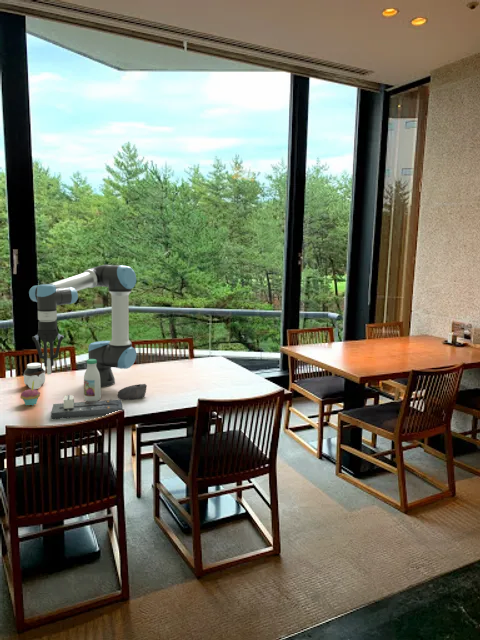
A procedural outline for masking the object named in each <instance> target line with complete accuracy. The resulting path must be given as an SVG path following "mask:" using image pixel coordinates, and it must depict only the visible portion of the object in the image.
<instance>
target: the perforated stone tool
mask: <svg viewBox="0 0 480 640" xmlns="http://www.w3.org/2000/svg"><path fill="white" fill-rule="evenodd" d="M146 392H147V384H146V383H142V384H141V383H140V384H139V383H137V384H133V385H129V386H125V387H123V388H121V389H120V390H118V392H117V398H118V399H119V400H120V399H121V401H123V400H125V401H127V400H131V401H132V400H139V399H143V398H145V397H146Z"/></svg>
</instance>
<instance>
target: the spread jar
mask: <svg viewBox="0 0 480 640" xmlns="http://www.w3.org/2000/svg"><path fill="white" fill-rule="evenodd" d="M33 381H34V388H33V389H34V390H37V389H39V388H41V387H42V386H43V385H44V383H45V382H46V371H45V369H44V368H43V367H42V364H41V363H40V362H31V363H28V364H26V369H25V370H24V372H23V383H24V385H25V386H26V387H28V388H29V389H32V383H33Z"/></svg>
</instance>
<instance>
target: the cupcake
mask: <svg viewBox="0 0 480 640" xmlns="http://www.w3.org/2000/svg"><path fill="white" fill-rule="evenodd" d="M33 388H34V381H33V383H32V389H31V388H29V389H26V390H23V391H22V392H21V393H20V399H21V400H22V401H23V402H24V404H25V406H27V405H32V406H35V405H36V404H37V402H38V399H39V398H40V397H41V392H40V391H39V390H37V389H33ZM34 404H35V405H34Z"/></svg>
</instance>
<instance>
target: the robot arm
mask: <svg viewBox="0 0 480 640" xmlns="http://www.w3.org/2000/svg"><path fill="white" fill-rule="evenodd" d="M136 284H137V275H136V272H135V271H134V269H133V268H132V267H131V266H127V265H122V264H116V265H115V264H102V265H98V266H94V267H91V268H88V269H85V270H84V271H83V272H82V273H79V274H75V275H73V276H70V277H66V278H62V279H60V280H57V281H54V282H51V283H47V284H39V285H33V286H32V287H31V288H30V289H29V291H28V294H29V298H30V300H31V301H32V302H36V303H37V320H38V322H37V324H38V331H37V334H35V335H34V336H32V337H31V340H32V341H33V342H34V344H35V347H36V351H37V355H38V357H39V359H43V367H45V368H46V375H51V374H52V367H54V365H55V359H57V358H58V356H59V353H60V350H61V349H60V348H61V344H62V341H63V339H64V338H65V337H64V335H63V334H60V333H59V331H58V321H57V319H58V317H57V316H58V314H57V313H58V311H57V307H58V306H64V305H72V304H75V303H76V302H77V300H78V299H79V294H78V291H82V290H84V289H87V288H91V289H92V288H96V287H102V288H103V287H105V288H108V292H109V294H110V295H111V340H100V341H94V342H91V343H89V345H88V350H87V354H88V355H87V356H88V359H96V360H97V364H96V367H97V369H98V371H99V374H100V385H101V388H105V387H109V386H113V385H115V383H116V379H115V376H114V374H113V370H112V368H117V369H121V370H122V369H124V370H126V369H127V370H128V369H130V368H132V366H133V365H134V363H135V362H136V359H137V351H136V349H135V348H134V347H133V346H132V344H133V343H132V342H131V340H130V339H129V336H130V335H129V331H130V330H129V328H130V327H129V322H130V321H129V318H130V317H129V313H130V312H129V309H130V307H129V306H130V305H129V303H130V302H129V295H130V294H131V293H132V289H133V288H134V287H135V286H136ZM56 338H57V340H58V341H57V345H56V349H55V352H54V341H55V340H56ZM39 339H40V340H41V341H42V342H43V343H42V345H43V351H42V348H41V346H40V341H39ZM48 343H49V354H50V356H49V358H48Z"/></svg>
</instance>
